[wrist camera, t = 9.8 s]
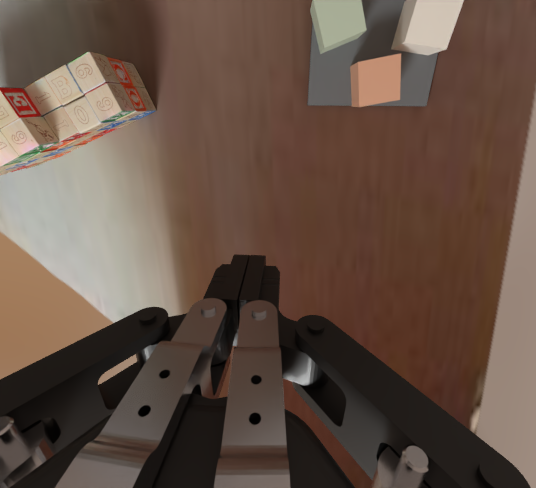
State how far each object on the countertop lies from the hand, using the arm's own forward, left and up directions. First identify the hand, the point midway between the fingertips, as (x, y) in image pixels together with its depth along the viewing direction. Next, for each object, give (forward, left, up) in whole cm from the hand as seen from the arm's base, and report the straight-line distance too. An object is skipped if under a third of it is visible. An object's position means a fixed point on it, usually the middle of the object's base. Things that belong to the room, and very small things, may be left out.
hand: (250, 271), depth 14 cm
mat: (-12, +11, -31) cm, 35 cm away
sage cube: (-16, +6, -30) cm, 35 cm away
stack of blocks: (-5, -28, -31) cm, 42 cm away
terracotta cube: (-10, +12, -30) cm, 34 cm away
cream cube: (-15, +16, -30) cm, 37 cm away
